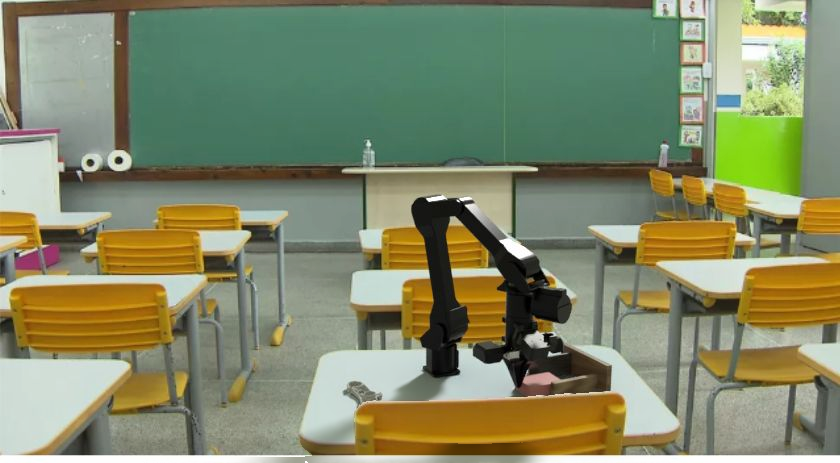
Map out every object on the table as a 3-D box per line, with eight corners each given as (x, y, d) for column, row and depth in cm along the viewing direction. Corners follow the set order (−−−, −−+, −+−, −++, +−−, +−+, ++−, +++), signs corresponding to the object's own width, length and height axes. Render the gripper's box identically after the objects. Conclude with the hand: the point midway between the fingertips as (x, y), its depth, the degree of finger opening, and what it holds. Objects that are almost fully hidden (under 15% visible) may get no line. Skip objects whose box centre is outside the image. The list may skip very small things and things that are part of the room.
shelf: (561, 402, 152) (562, 374, 151) (518, 376, 166) (519, 350, 165) (610, 392, 157) (611, 365, 156) (564, 367, 171) (565, 342, 170)
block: (529, 401, 154) (530, 387, 154) (515, 390, 160) (515, 377, 159) (563, 395, 157) (563, 381, 157) (548, 385, 163) (548, 371, 162)
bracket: (342, 409, 146) (347, 379, 160) (343, 418, 146) (347, 387, 161) (382, 408, 146) (382, 378, 161) (382, 418, 146) (382, 387, 161)
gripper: (500, 331, 143) (498, 409, 146) (581, 319, 150) (578, 393, 153) (471, 315, 153) (470, 389, 156) (549, 305, 160) (547, 375, 163)
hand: (517, 387), depth 157 cm, fingers closed
